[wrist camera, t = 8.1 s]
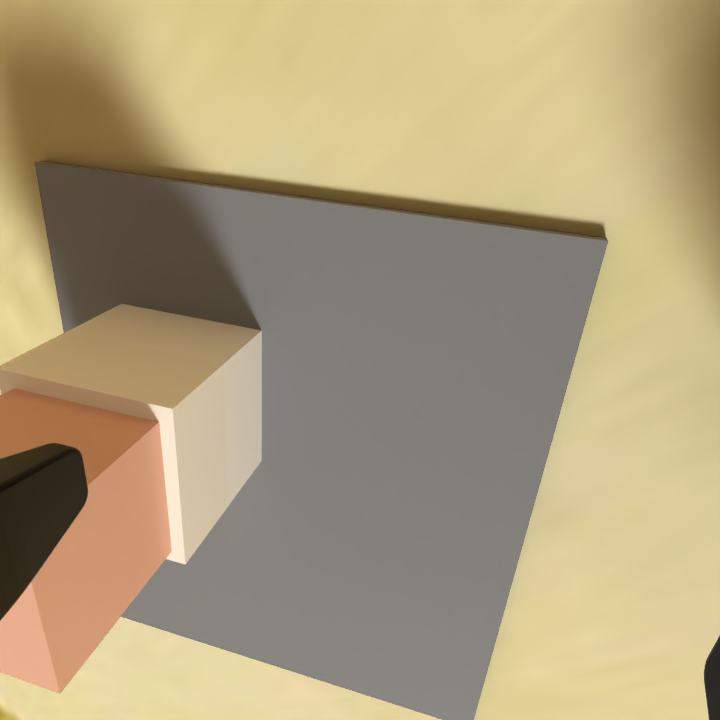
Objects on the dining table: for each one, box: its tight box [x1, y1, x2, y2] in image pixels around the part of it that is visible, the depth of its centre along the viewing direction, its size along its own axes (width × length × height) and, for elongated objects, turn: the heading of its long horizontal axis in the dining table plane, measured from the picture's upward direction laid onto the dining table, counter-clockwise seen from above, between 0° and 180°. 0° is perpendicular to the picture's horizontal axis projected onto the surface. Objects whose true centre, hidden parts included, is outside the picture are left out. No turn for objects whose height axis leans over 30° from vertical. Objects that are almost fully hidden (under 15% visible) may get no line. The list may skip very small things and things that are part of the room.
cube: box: [0, 388, 172, 693], centre depth 16 cm, size 5×5×5 cm
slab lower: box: [67, 304, 262, 506], centre depth 22 cm, size 6×6×3 cm
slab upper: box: [0, 332, 228, 565], centre depth 19 cm, size 6×6×3 cm
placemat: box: [35, 161, 608, 720], centre depth 24 cm, size 20×24×1 cm
